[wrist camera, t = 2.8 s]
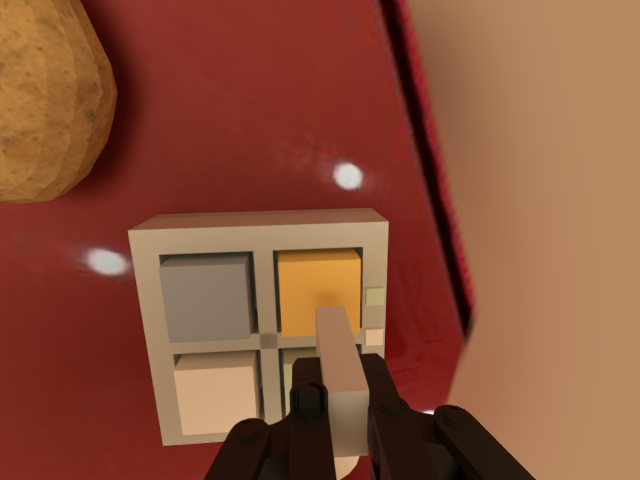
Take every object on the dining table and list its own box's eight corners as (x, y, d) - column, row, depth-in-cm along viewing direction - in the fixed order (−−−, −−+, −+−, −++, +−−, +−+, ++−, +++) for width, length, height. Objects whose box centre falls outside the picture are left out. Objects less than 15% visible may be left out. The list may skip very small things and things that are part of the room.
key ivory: (193, 407, 26) (182, 435, 24) (185, 348, 25) (173, 371, 23) (260, 403, 27) (257, 430, 24) (256, 344, 25) (252, 366, 23)
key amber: (283, 317, 25) (282, 337, 23) (279, 250, 24) (278, 262, 21) (353, 314, 25) (359, 332, 23) (353, 247, 24) (360, 259, 22)
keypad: (184, 396, 31) (161, 449, 25) (159, 214, 26) (125, 231, 21) (367, 384, 32) (382, 433, 26) (371, 207, 27) (389, 222, 22)
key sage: (287, 401, 27) (286, 427, 24) (284, 343, 26) (283, 364, 23) (352, 397, 27) (358, 422, 25) (353, 339, 26) (359, 360, 23)
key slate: (182, 323, 25) (169, 343, 22) (172, 254, 23) (158, 267, 21) (254, 319, 25) (250, 338, 22) (249, 251, 24) (244, 263, 21)
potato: (144, -16, 23) (67, -99, 15) (138, 200, 26) (74, 224, 18) (-23, -49, 22) (-198, -156, 14) (-5, 181, 25) (-138, 198, 17)
